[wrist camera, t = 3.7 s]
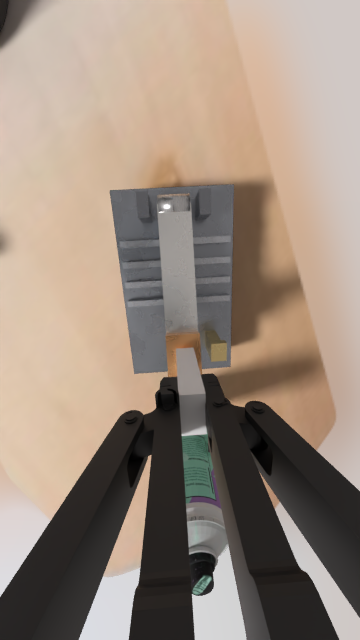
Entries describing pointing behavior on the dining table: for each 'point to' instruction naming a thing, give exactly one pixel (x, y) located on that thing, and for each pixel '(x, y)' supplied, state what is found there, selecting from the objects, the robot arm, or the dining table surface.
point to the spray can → (202, 513)
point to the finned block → (146, 275)
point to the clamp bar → (178, 277)
